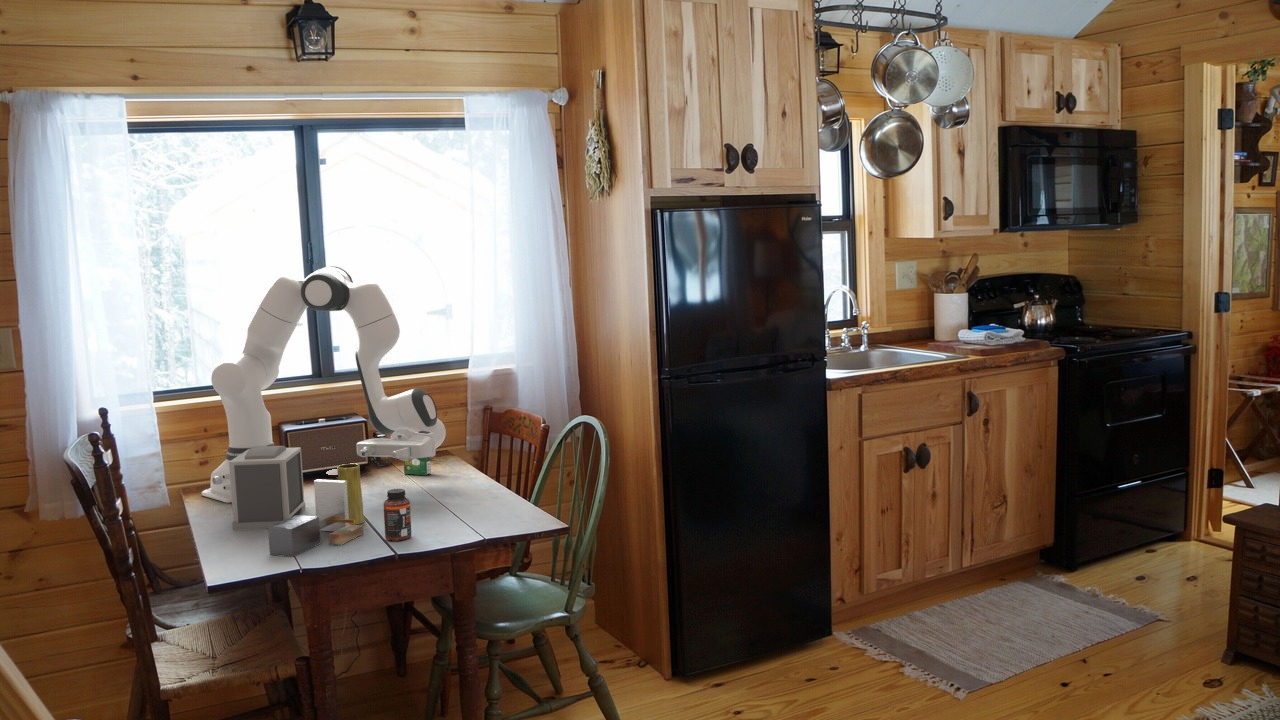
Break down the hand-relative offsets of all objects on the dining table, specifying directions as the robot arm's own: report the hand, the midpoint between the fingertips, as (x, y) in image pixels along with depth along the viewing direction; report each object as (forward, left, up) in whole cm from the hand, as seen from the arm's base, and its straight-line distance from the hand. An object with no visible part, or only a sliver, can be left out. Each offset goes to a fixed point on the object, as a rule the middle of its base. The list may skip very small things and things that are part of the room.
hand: (378, 454), depth 257 cm
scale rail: (+12, -24, -14) cm, 30 cm away
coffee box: (-18, +34, -14) cm, 41 cm away
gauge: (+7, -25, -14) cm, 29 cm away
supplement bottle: (+23, -18, -14) cm, 32 cm away
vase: (+3, -13, -14) cm, 20 cm away
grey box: (-19, -19, -15) cm, 31 cm away
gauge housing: (+7, -34, -14) cm, 38 cm away
